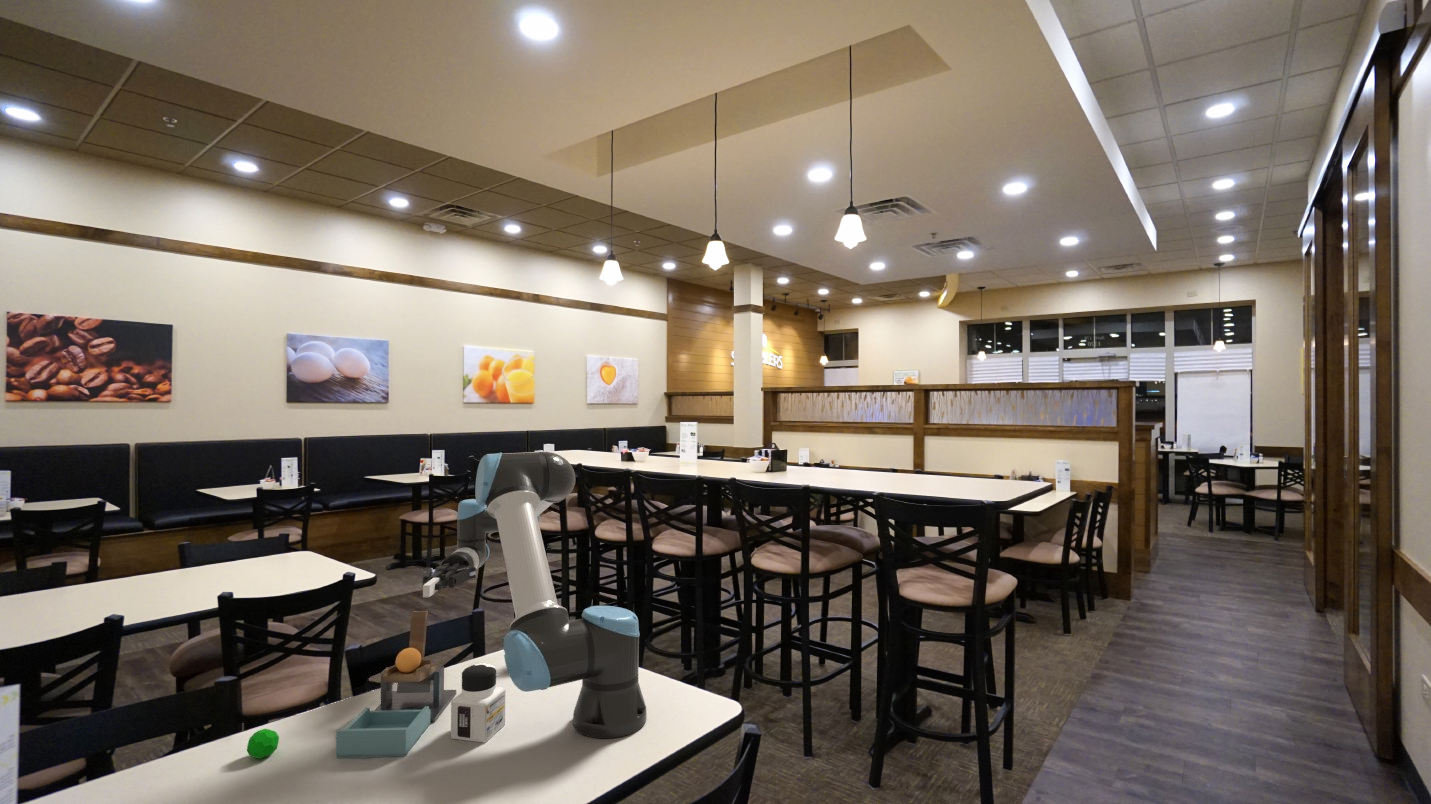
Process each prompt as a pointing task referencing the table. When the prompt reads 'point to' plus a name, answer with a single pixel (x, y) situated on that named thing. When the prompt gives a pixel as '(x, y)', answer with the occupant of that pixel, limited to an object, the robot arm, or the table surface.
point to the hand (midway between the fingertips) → (426, 591)
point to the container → (478, 705)
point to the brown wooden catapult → (424, 673)
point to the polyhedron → (262, 743)
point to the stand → (418, 697)
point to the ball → (408, 660)
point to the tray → (382, 733)
